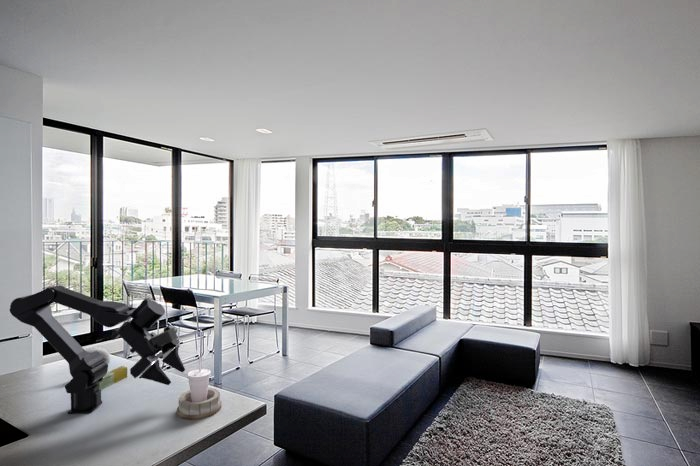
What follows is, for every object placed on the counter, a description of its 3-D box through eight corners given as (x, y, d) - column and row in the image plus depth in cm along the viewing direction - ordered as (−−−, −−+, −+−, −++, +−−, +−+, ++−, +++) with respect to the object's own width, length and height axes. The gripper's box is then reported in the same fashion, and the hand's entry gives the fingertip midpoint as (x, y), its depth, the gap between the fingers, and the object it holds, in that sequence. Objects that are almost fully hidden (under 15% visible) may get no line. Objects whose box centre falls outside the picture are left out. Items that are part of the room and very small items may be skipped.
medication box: (98, 392, 127) (98, 379, 126) (91, 390, 127) (91, 378, 127) (127, 377, 138) (127, 366, 138) (121, 376, 139) (121, 365, 139)
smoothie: (215, 401, 118) (214, 354, 117) (203, 411, 111) (203, 362, 111) (195, 399, 119) (194, 353, 118) (182, 410, 112) (182, 361, 112)
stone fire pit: (171, 420, 108) (170, 406, 108) (184, 400, 120) (184, 387, 120) (216, 418, 110) (216, 404, 110) (225, 398, 122) (224, 386, 122)
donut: (79, 381, 134) (78, 352, 134) (75, 379, 136) (75, 350, 136) (111, 373, 142) (111, 345, 141) (108, 370, 144) (107, 343, 144)
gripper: (141, 328, 105) (183, 370, 105) (173, 311, 124) (208, 347, 124) (111, 357, 105) (153, 399, 105) (148, 336, 124) (183, 372, 124)
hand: (177, 377), depth 115 cm, fingers open, 9 cm apart
